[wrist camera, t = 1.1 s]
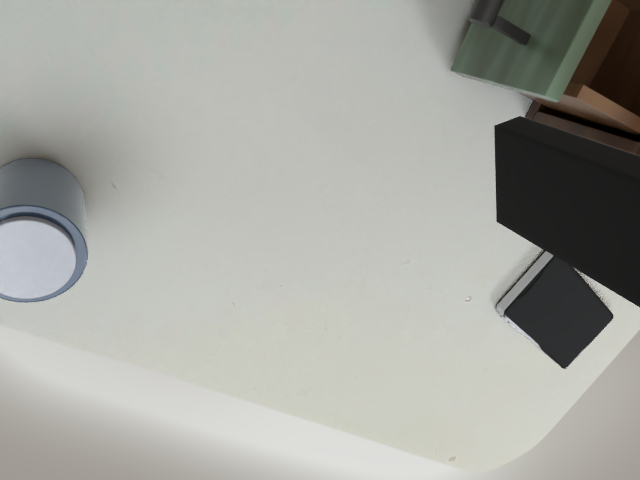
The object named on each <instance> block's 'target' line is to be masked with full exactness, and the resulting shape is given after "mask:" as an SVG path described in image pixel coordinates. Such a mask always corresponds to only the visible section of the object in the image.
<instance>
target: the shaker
mask: <svg viewBox="0 0 640 480" xmlns="http://www.w3.org/2000/svg"><path fill="white" fill-rule="evenodd" d="M87 259H88V247H87V229H86V211H85V197H84V192H83V189H82V187H81V185H80V183H79V182H78V180H77V179H76V178H75V176H74V175H73V174H72V173H71V172H69V171H68V170H67V169H65V168H64V167H62V166H60V165H59V164H56V163H54V162H51V161H48V160H44V159H36V158H27V159H20V160H16V161H13V162H10V163H8V164H6V165H4V166H3V167H1V168H0V298H2V299H6V300H9V301H15V302H38V301H43V300H47V299H50V298H53V297H56V296H58V295H60V294H62V293H64V292H65V291H67V290H68V289H69V288H71V287H72V286H73V285H74V284H75V283H76V282H77V281H78V280H79V278H80V277H81V275H82V274H83V272H84V270H85V267H86V264H87Z"/></svg>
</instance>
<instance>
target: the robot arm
mask: <svg viewBox="0 0 640 480" xmlns="http://www.w3.org/2000/svg"><path fill="white" fill-rule="evenodd" d="M495 168H496V210H497V222H498V223H500V224H502V225H503V226H505V227H507V228H508V229H510V230H512V231H513V232H515V233H517V234H518V235H520V236H522V237H523V238H525V239H527V240H528V241H530V242H532V243H533V244H535V245H537V246H538V247H540V248H542V249H543V250H545V251H547V252H548V253H550V254H552V255H553V256H555V257H557V258H558V259H560V260H562V261H563V262H565V263H567V264H569V265H570V266H572V267H574V268H575V269H577V270H579V271H580V272H582V273H584V274H585V275H587V276H589V277H590V278H592V279H594V280H595V281H597V282H599V283H600V284H602V285H604V286H605V287H607V288H609V289H610V290H612V291H614V292H615V293H617V294H619V295H620V296H622V297H624V298H625V299H627V300H629V301H630V302H632V303H634V304H635V305H637V306H639V307H640V156H637V155H634V154H631V153H628V152H625V151H622V150H619V149H616V148H613V147H610V146H607V145H604V144H601V143H598V142H595V141H592V140H589V139H586V138H584V137H581V136H578V135H575V134H572V133H569V132H566V131H563V130H560V129H557V128H554V127H551V126H548V125H545V124H542V123H539V122H536V121H533V120H530V119H527V118H524V117H521V116H519V117H517V118H514V119H511V120H509V121H506V122H503V123H501V124H498V125H496V126H495Z"/></svg>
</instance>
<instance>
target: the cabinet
mask: <svg viewBox="0 0 640 480" xmlns="http://www.w3.org/2000/svg"><path fill="white" fill-rule="evenodd" d="M525 118H527V119H530V120H533V121H536V122H539V123H542V124H545V125H548V126H551V127H554V128H557V129H560V130H563V131H566V132H569V133H572V134H575V135H578V136H581V137H584V138H586V139H589V140H592V141H595V142H598V143H601V144H604V145H607V146H610V147H613V148H616V149H619V150H622V151H625V152H628V153H631V154H634V155H637V156H640V140H638V139H635V138H632V137H629V136H625V135H622V134H619V133H615V132H612V131H609V130H606V129H602V128H599V127H596V126H592V125H589V124H586V123H583V122H579V121H576V120H573V119H570V118H568V117H566V116H564V115H562V114H560V113H558V112H556V111H554V110H553V109H551V108H549V107H547V106H545V105H543V104H541V103H539V102H537V101H535V100H534V101H533V103H532V105H531V107H530V109H529V111H528V113H527V115H526V117H525Z"/></svg>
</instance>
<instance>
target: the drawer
mask: <svg viewBox="0 0 640 480" xmlns="http://www.w3.org/2000/svg"><path fill="white" fill-rule="evenodd" d="M468 20H469V21H470V22H472V23H471V25H470V27H469V30H468V32H467V34H466V36H465V38H464V41H463V43H462V45H461V47H460V49H459V52H458V54H457V56H456V58H455V60H454V63H453V65H452V67H451V71H453V72H455V73H457V74H459V75H461V76H463V77H467V78H471V79H474V80H478V81H481V82H485V83H488V84H492V85H496V86H499V87H503V88H506V89H510V90H514V91H517V92H519V93H521V94H523V95H525V96H527V97H529V98H531V99H533V100H535V101H537V102H539V103H541V104H543V105H545V106H547V107H549V108H551V109H553V110H554V111H556V112H558V113H560V114H562V115H564V116H566V117H568V118H570V119H573V120H576V121H579V122H583V123H586V124H589V125H592V126H596V127H599V128H602V129H606V130H609V131H612V132H615V133H619V134H622V135H625V136H629V137H632V138H635V139H638V140H640V0H476V2H475V4H474V6H473V8H472V11H471V13H470V15H469V17H468Z"/></svg>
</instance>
